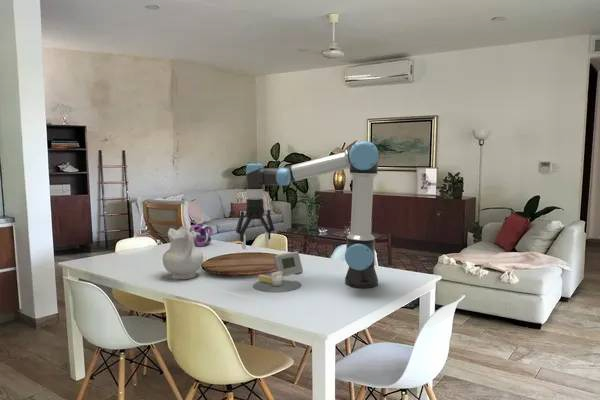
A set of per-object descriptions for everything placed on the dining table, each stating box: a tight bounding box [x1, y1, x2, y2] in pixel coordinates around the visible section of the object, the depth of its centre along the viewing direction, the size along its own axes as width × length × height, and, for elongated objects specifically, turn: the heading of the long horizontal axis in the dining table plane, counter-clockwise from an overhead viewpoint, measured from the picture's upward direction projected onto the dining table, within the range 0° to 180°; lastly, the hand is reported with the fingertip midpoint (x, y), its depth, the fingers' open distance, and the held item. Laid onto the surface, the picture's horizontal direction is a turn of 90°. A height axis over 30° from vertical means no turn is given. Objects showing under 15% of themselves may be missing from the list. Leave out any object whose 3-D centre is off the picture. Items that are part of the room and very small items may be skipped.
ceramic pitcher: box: [162, 225, 204, 280], centre depth 225 cm, size 22×20×25 cm
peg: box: [258, 271, 283, 286], centre depth 210 cm, size 13×5×6 cm, turn 49°
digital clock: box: [273, 250, 304, 278], centre depth 230 cm, size 16×9×11 cm, turn 123°
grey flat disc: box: [252, 278, 302, 294], centre depth 208 cm, size 22×22×1 cm
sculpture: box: [189, 223, 214, 248], centre depth 307 cm, size 16×17×20 cm
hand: (255, 247), depth 207 cm, fingers open, 10 cm apart
